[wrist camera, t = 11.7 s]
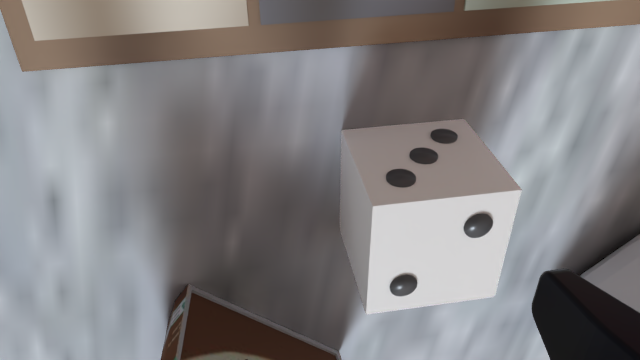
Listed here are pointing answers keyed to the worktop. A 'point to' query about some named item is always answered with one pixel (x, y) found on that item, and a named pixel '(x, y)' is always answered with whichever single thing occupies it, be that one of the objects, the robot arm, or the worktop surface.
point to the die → (424, 214)
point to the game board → (272, 25)
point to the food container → (232, 333)
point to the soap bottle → (619, 274)
